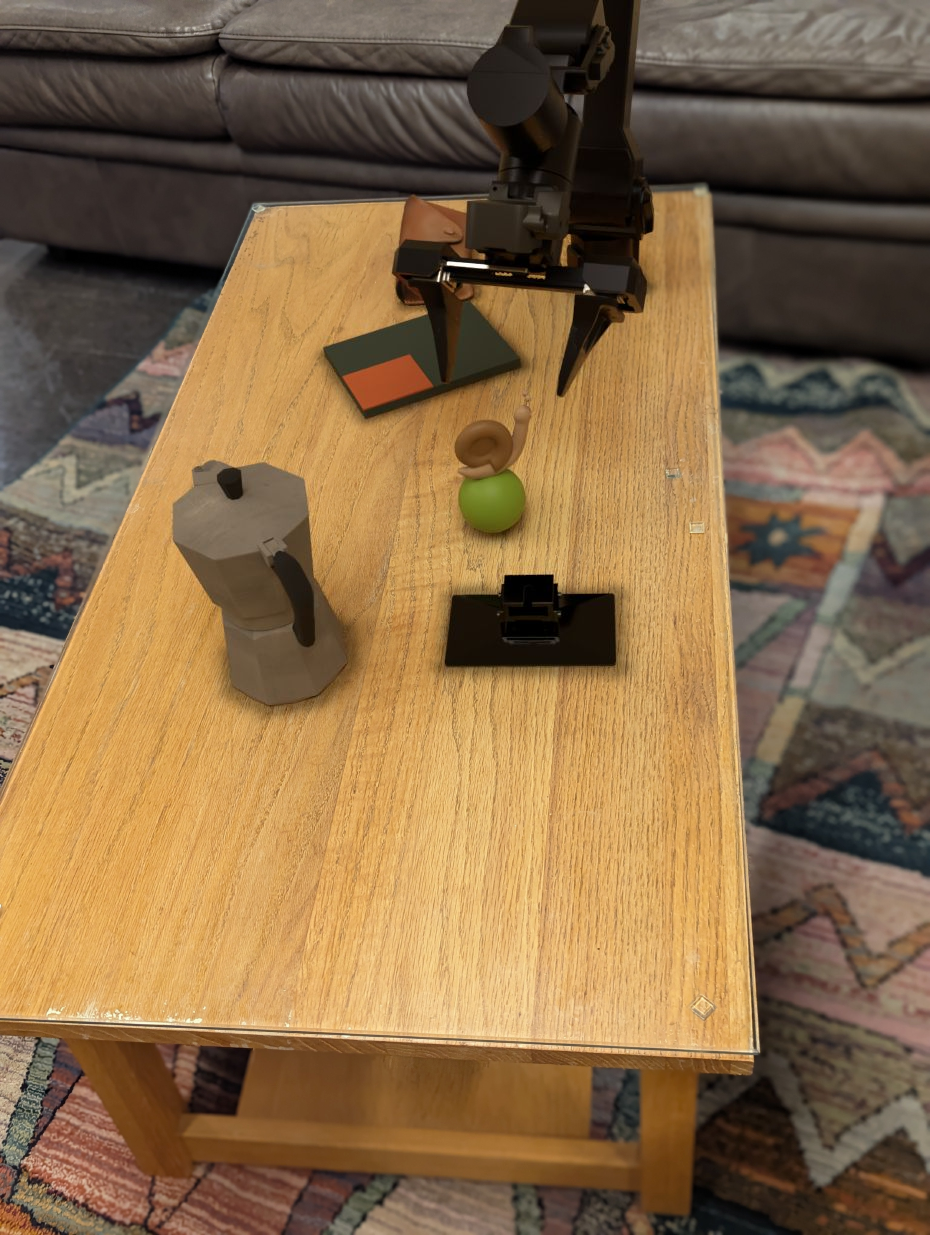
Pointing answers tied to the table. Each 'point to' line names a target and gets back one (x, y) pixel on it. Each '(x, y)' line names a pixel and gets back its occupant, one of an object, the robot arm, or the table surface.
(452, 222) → the sunglasses case
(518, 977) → the table surface
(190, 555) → the coffeepot
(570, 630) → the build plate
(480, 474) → the snail figurine
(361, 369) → the corner mat
